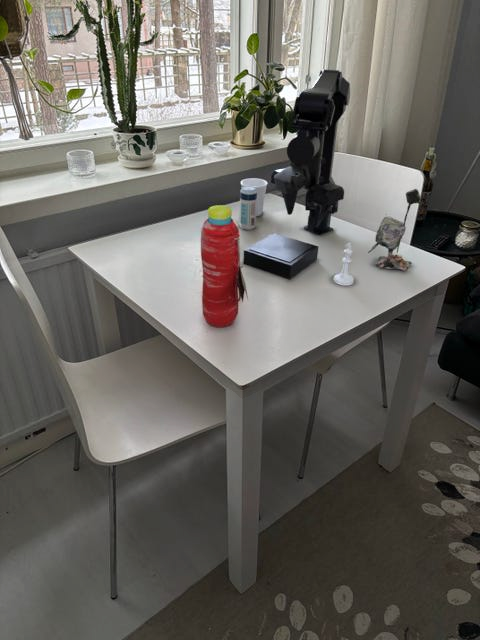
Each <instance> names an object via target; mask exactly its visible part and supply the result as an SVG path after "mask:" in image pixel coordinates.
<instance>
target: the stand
mask: <svg viewBox="0 0 480 640" xmlns="http://www.w3.org/2000/svg"><path fill="white" fill-rule="evenodd" d="M318 254H319V245H315V244H312V243H309V242H307V241H306V242H305V241H302V240H299V239H295V238H292V237H288V236H285V235H282V234H278V233H275V232H273V233H271V234H269V235H267V236H265V237H263V238H262V239H261V240H259V241H257V242H255V243H253V244H252V245H250V246H248V247H247V248H244V249H243V260H242V261H243V265H245V266H248V267H251V268H254V269H256V270H259V271H263V272H265V273H268V274H270V275H273V276H277V277H279V278H281V279H282V278H283V279H285V280H289V281H291V280H292V279H293V278H295V277H296V276H297V275H299V274H300V273H301V272H303V271H304V270H306V269H307V268H308V267H310V266H311V265H313V264H314V263H315V262H317V260H318Z"/></svg>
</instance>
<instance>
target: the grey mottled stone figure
mask: <svg viewBox="0 0 480 640" xmlns="http://www.w3.org/2000/svg"><path fill="white" fill-rule="evenodd" d="M405 198H406V199H405V200H406V202H407V204H408V205H407V208H406V212H405V213H406V214H405V216H404V220H403V221H401V220H398V219H396V218H394V217H392V216H387V214H385V216H384V217H383V219H382V220H381V221H380V225H379V226H378V229H377V230H376V234H375V238H374V239H375V242H376V243H375V244H374V245H373V246H372V247H371V248H370V249H368V252H367V253H368V254H370V253H371V252H373V250H375V249H376V248H377V247H378V246H380V247H383V248H386V249H387V256H385V255H383V256H381V255H380V257H378V259H377V261H376V263H375V266H376V267H379V268H381V269H382V268H383V269H388V270H391V269H392V270H394V269H396V270H399V269H400V270H402V271H403V272H405V271H408V270H409V268H410V267H411V265H412V264H413V262H411V261H408V260H405V259H404V258H403V255H402V254H398V253H399V248H400V245H401V241H402V239H403V236H404V235H405V233H406V229H407V228H406V221H407V219H408V218H407V217H408V215H409V212H410V209H411V206H412V205H413V204H418V205H419V206H420V207H421V206H422V204H421V199H422V197H421V194H420V192H419V189H417V188H414V189H411V190H408V191H406V193H405ZM395 250H396V254H393V253H394V251H395Z"/></svg>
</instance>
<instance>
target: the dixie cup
mask: <svg viewBox="0 0 480 640" xmlns="http://www.w3.org/2000/svg"><path fill="white" fill-rule="evenodd" d="M240 185H241V188H242V187H244V186H253V187H255V188H256V191H257V205H256V217H260V216H261V215H262V214H263V209H264V203H265V198H266V193H267V186H268V181H267V180H265V179H262V178H255V177H253V178H251V177H250V178H245V179H242V180H241V181H240Z"/></svg>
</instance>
